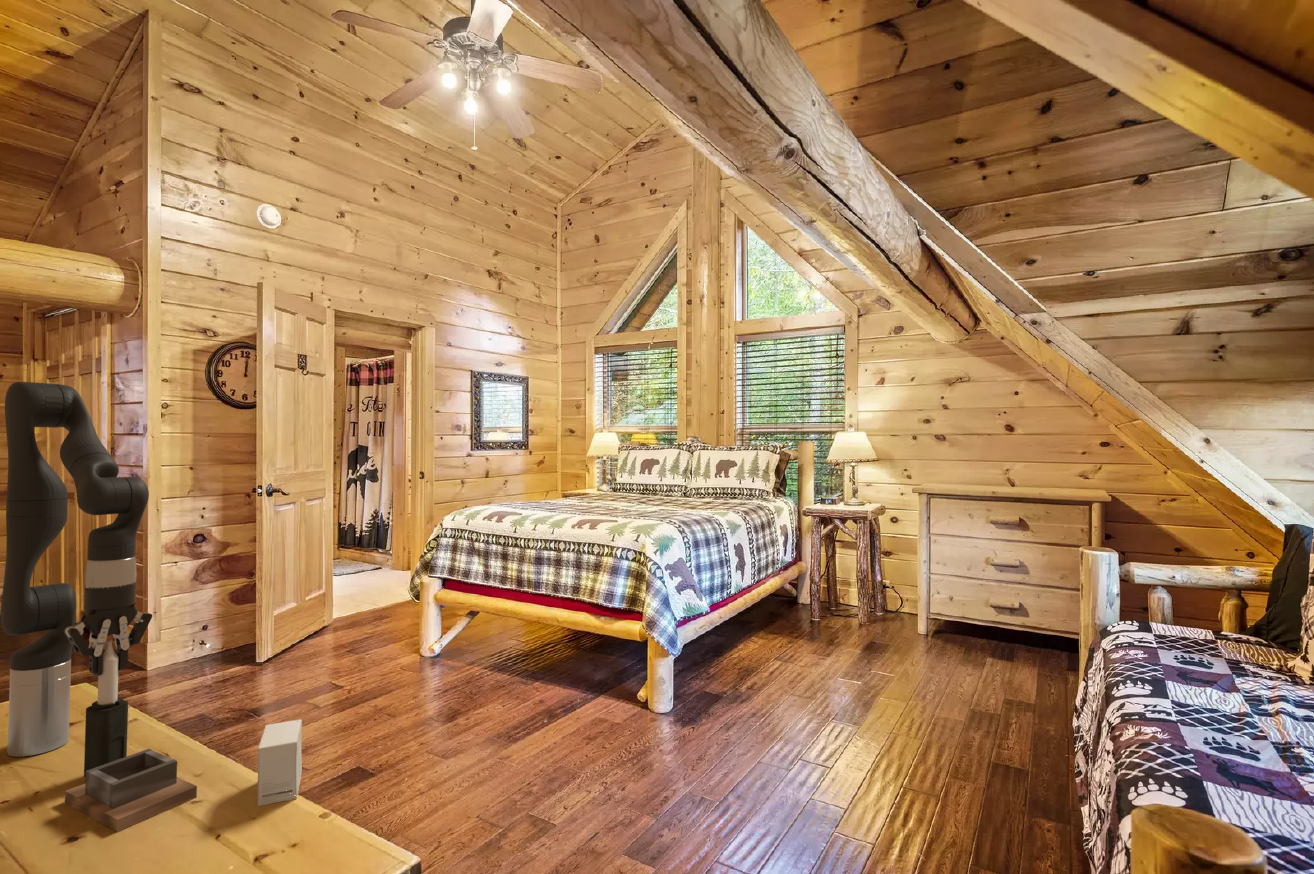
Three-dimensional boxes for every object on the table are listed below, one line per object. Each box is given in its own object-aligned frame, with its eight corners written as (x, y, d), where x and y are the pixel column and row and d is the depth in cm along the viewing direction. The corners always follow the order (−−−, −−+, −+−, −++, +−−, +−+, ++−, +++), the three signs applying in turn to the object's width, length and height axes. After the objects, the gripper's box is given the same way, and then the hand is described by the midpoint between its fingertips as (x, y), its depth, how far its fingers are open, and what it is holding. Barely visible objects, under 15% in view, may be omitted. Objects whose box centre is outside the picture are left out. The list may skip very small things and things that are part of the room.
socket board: (64, 802, 115) (65, 767, 115) (143, 772, 125) (144, 740, 125) (116, 831, 106) (118, 794, 106) (196, 797, 117) (197, 763, 117)
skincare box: (263, 778, 124) (265, 723, 124) (302, 772, 127) (303, 718, 127) (255, 807, 114) (256, 747, 115) (296, 799, 117) (298, 740, 117)
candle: (102, 780, 121) (106, 645, 121) (80, 776, 122) (84, 643, 122) (129, 766, 126) (133, 637, 126) (108, 763, 127) (112, 635, 127)
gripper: (143, 573, 132) (140, 658, 132) (55, 585, 120) (51, 679, 120) (163, 577, 129) (160, 664, 129) (74, 591, 116) (71, 687, 116)
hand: (108, 671), depth 124 cm, fingers closed on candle, 3 cm apart
